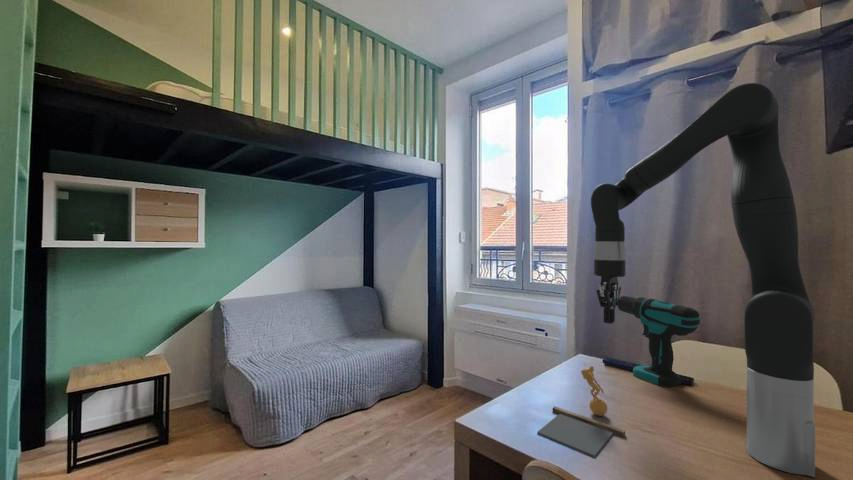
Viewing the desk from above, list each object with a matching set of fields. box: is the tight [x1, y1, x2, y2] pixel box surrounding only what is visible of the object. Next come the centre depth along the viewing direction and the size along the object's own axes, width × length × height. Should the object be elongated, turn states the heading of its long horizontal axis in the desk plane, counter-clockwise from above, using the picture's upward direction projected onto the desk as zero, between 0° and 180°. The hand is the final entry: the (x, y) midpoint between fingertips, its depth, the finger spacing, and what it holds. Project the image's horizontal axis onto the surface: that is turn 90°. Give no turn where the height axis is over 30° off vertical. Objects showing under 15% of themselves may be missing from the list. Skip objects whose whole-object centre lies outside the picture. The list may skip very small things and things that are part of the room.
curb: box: [552, 405, 626, 438], centre depth 82 cm, size 16×1×1 cm, turn 46°
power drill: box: [616, 295, 701, 389], centre depth 111 cm, size 26×9×25 cm, turn 25°
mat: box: [537, 414, 614, 458], centre depth 77 cm, size 12×12×1 cm
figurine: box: [580, 365, 609, 417], centre depth 85 cm, size 8×6×12 cm
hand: (609, 322), depth 93 cm, fingers closed
